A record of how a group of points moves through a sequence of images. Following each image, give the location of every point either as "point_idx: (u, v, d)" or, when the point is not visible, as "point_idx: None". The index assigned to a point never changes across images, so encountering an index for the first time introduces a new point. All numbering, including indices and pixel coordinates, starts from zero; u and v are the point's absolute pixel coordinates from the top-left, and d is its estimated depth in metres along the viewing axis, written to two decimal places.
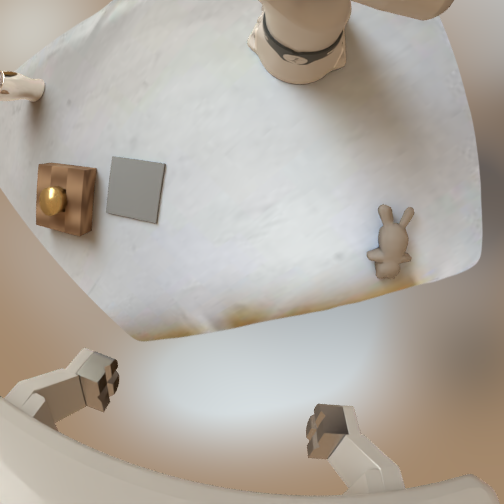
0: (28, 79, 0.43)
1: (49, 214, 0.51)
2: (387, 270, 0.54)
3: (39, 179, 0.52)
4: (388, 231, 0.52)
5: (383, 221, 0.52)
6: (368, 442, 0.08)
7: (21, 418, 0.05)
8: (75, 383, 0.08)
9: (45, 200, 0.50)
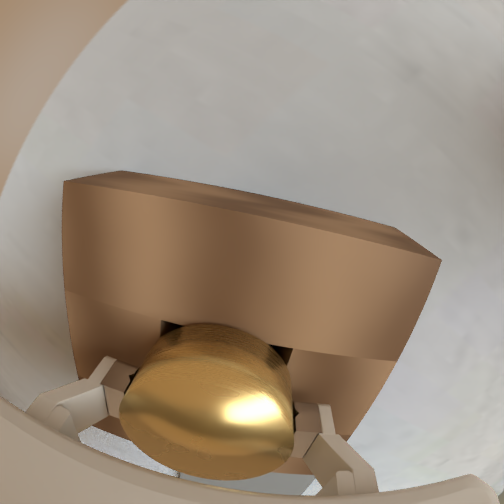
0: None
1: (129, 427, 0.08)
2: None
3: (356, 260, 0.09)
4: None
5: None
6: (343, 442, 0.08)
7: (21, 418, 0.05)
8: (99, 393, 0.08)
9: (207, 427, 0.08)
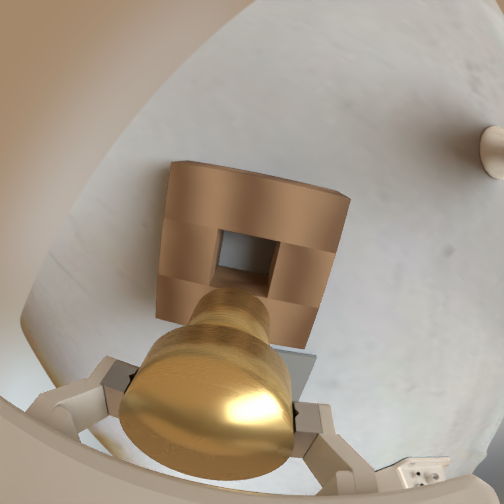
0: None
1: (129, 427, 0.08)
2: None
3: (306, 197, 0.22)
4: None
5: None
6: (343, 442, 0.08)
7: (21, 418, 0.05)
8: (99, 393, 0.08)
9: (207, 427, 0.08)
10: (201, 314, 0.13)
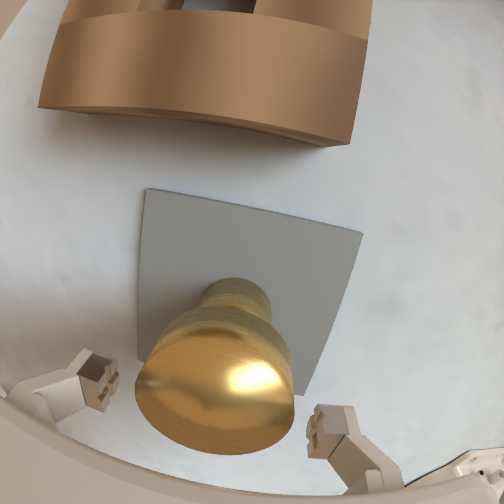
0: None
1: (144, 402, 0.10)
2: None
3: None
4: None
5: None
6: (368, 442, 0.08)
7: (21, 418, 0.05)
8: (75, 383, 0.08)
9: (216, 398, 0.09)
10: (209, 300, 0.14)
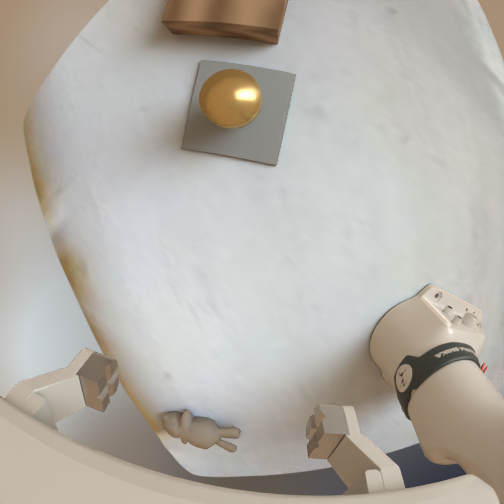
0: None
1: (202, 97, 0.26)
2: (172, 429, 0.47)
3: None
4: (212, 436, 0.47)
5: (222, 430, 0.47)
6: (368, 442, 0.08)
7: (21, 418, 0.05)
8: (75, 383, 0.08)
9: (232, 88, 0.25)
10: None
